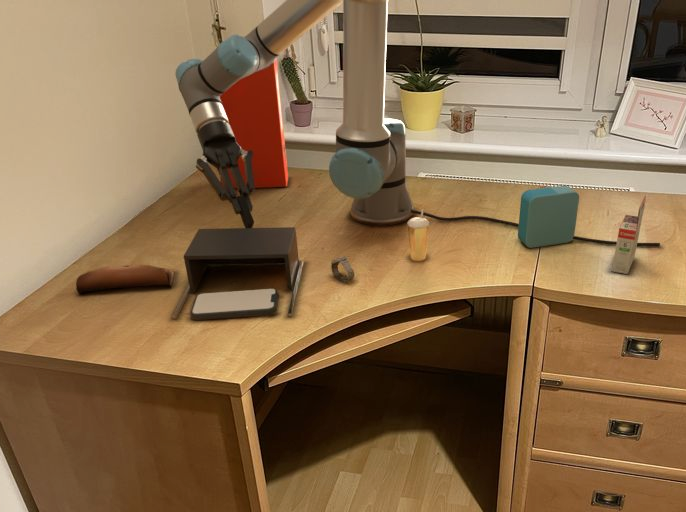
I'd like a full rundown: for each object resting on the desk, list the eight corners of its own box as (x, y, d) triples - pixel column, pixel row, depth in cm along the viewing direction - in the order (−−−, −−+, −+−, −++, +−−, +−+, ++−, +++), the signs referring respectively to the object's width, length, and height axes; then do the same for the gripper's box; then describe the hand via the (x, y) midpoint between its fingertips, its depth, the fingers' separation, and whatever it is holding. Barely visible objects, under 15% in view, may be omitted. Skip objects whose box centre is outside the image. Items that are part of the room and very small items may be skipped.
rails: (303, 263, 151) (303, 260, 151) (291, 317, 132) (291, 314, 132) (199, 265, 151) (199, 262, 151) (172, 319, 132) (171, 316, 131)
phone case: (190, 322, 131) (276, 316, 132) (188, 315, 130) (275, 308, 131) (197, 300, 139) (279, 294, 140) (196, 292, 138) (278, 287, 139)
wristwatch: (340, 272, 148) (339, 250, 145) (358, 282, 144) (357, 259, 141) (327, 277, 146) (325, 255, 143) (345, 287, 142) (343, 265, 139)
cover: (298, 261, 152) (295, 227, 147) (292, 290, 140) (288, 254, 136) (204, 263, 151) (198, 228, 147) (190, 292, 140) (183, 255, 136)
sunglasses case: (175, 268, 149) (168, 250, 143) (175, 296, 146) (168, 279, 140) (86, 275, 146) (75, 257, 140) (84, 304, 143) (73, 287, 137)
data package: (564, 234, 163) (570, 184, 156) (573, 242, 159) (580, 191, 153) (516, 241, 160) (521, 190, 153) (525, 249, 156) (530, 197, 150)
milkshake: (432, 253, 155) (433, 210, 149) (424, 263, 151) (425, 219, 145) (412, 250, 156) (412, 208, 151) (404, 260, 152) (404, 217, 146)
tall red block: (226, 179, 197) (208, 57, 180) (288, 177, 198) (276, 56, 181) (222, 189, 190) (202, 64, 173) (286, 187, 191) (273, 62, 174)
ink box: (610, 272, 146) (621, 205, 138) (617, 256, 152) (628, 192, 145) (628, 275, 145) (641, 207, 137) (634, 259, 151) (647, 194, 143)
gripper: (239, 133, 160) (274, 226, 157) (182, 142, 155) (218, 239, 152) (244, 115, 154) (281, 212, 151) (185, 123, 148) (223, 224, 145)
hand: (249, 225), depth 151 cm, fingers closed
